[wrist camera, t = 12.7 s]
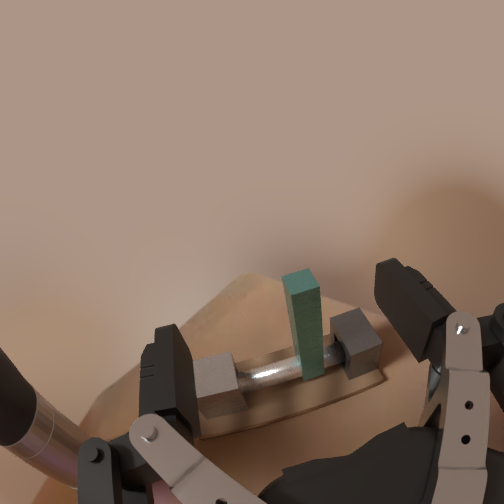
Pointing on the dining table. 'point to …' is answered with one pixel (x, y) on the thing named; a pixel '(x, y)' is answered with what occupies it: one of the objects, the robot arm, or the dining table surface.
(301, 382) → the walnut board
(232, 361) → the sleeve and socket
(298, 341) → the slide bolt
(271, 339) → the dining table surface
